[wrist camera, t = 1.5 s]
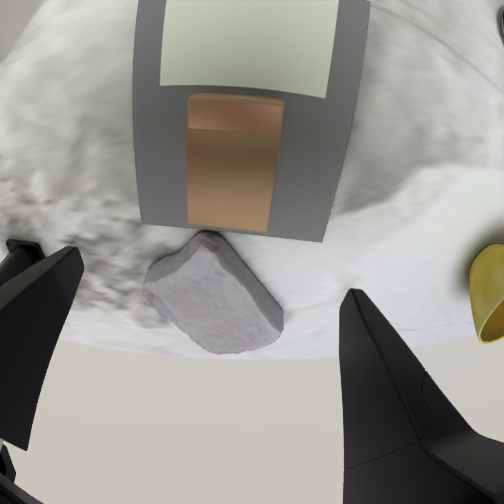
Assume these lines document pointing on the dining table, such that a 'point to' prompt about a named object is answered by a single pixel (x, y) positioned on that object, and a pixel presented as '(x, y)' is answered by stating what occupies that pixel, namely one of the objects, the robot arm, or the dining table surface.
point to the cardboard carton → (232, 159)
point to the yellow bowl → (488, 293)
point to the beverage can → (503, 23)
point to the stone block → (213, 297)
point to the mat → (248, 83)
